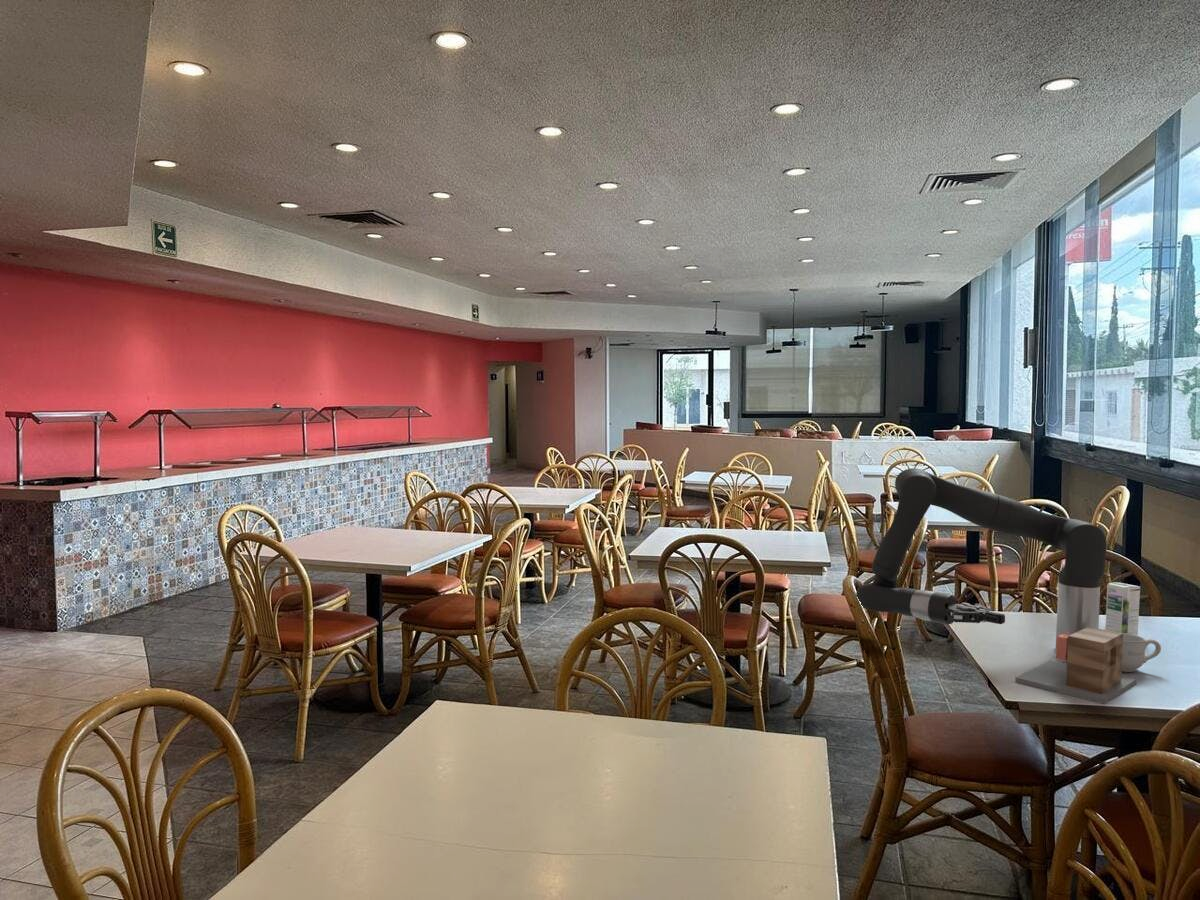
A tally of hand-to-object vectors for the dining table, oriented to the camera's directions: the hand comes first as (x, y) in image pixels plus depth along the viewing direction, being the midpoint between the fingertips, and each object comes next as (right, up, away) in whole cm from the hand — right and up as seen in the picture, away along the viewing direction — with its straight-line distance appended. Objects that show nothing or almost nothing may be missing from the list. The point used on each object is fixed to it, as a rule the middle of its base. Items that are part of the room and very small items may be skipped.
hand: (1003, 619), depth 194 cm
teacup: (+29, -12, -1) cm, 31 cm away
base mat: (+11, -12, -11) cm, 19 cm away
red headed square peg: (+11, -7, -13) cm, 18 cm away
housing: (+13, -12, -14) cm, 23 cm away
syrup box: (+45, -11, +27) cm, 54 cm away
